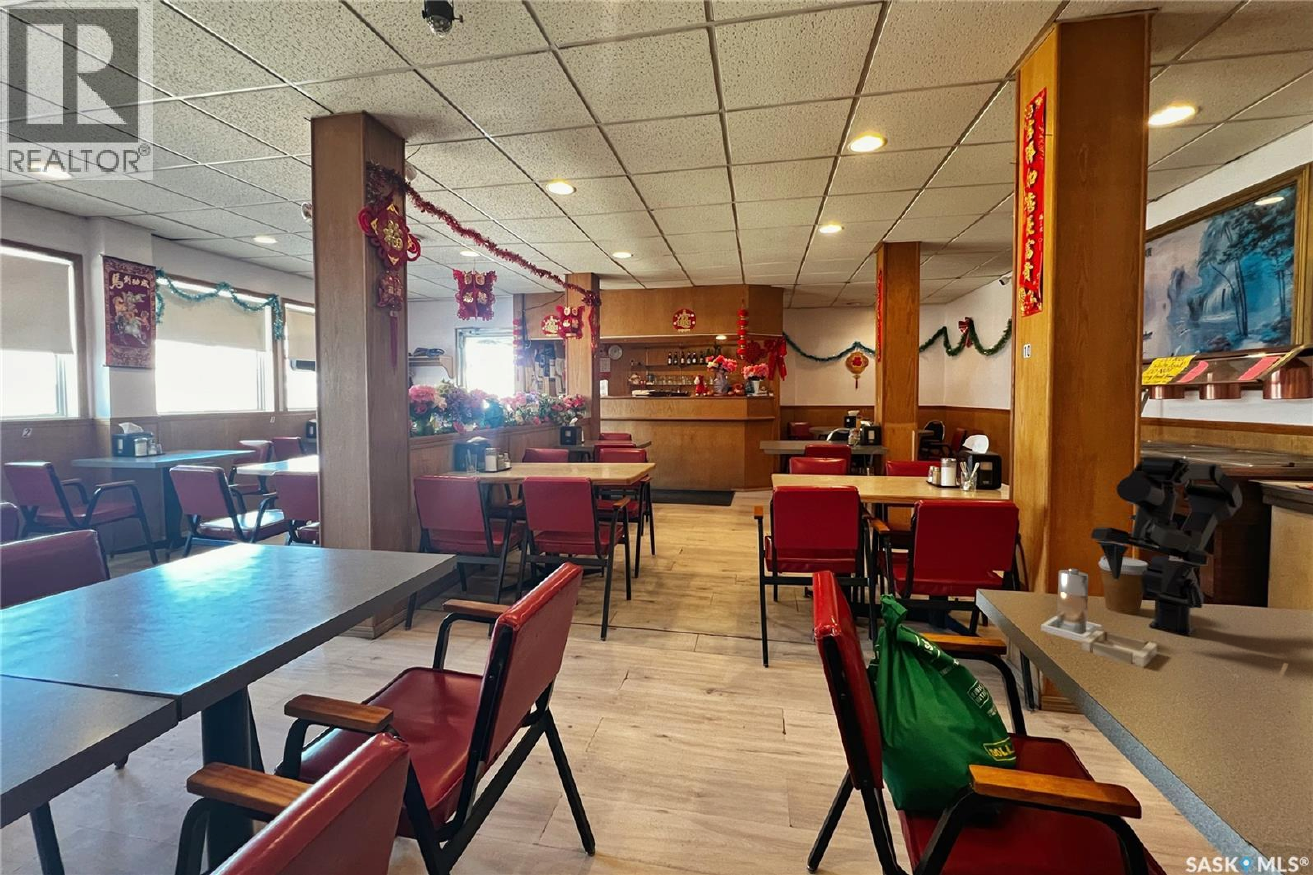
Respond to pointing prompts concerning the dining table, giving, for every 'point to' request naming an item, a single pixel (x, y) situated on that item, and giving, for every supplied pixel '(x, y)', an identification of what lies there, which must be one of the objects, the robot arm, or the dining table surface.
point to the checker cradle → (1120, 648)
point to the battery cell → (1072, 601)
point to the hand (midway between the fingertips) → (1140, 585)
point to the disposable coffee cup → (1123, 586)
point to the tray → (1052, 629)
